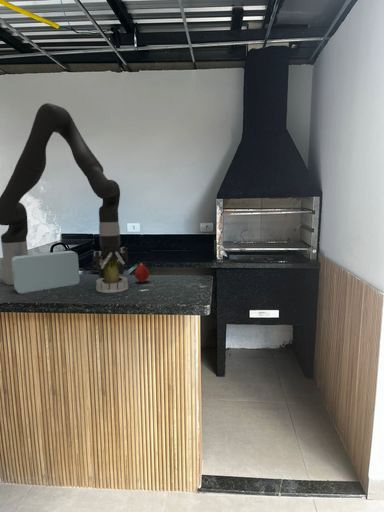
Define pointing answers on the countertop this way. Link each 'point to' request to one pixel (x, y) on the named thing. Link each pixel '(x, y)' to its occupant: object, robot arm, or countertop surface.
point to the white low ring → (112, 285)
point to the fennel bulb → (111, 271)
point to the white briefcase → (45, 271)
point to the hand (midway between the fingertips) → (111, 275)
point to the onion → (141, 273)
